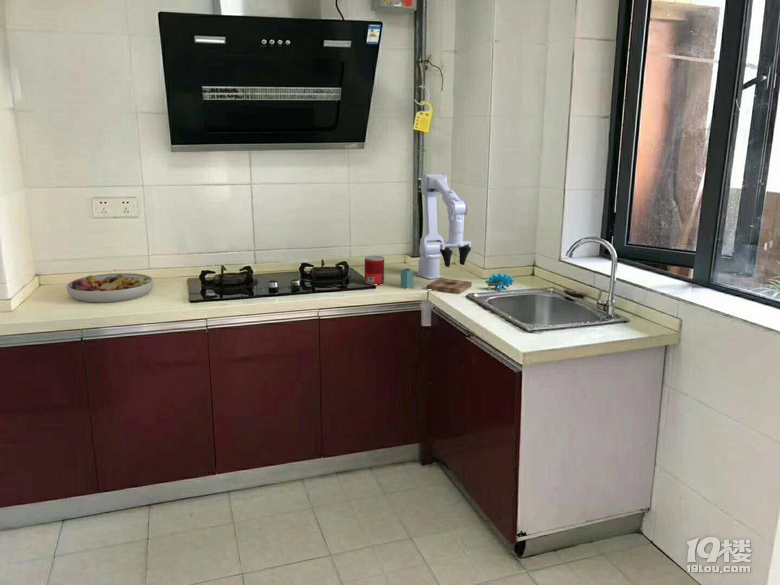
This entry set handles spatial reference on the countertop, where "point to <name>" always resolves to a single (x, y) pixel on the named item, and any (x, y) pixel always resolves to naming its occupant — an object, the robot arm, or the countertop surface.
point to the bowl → (110, 287)
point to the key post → (407, 278)
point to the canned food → (374, 269)
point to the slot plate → (449, 285)
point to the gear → (499, 281)
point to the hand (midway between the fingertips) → (454, 265)
